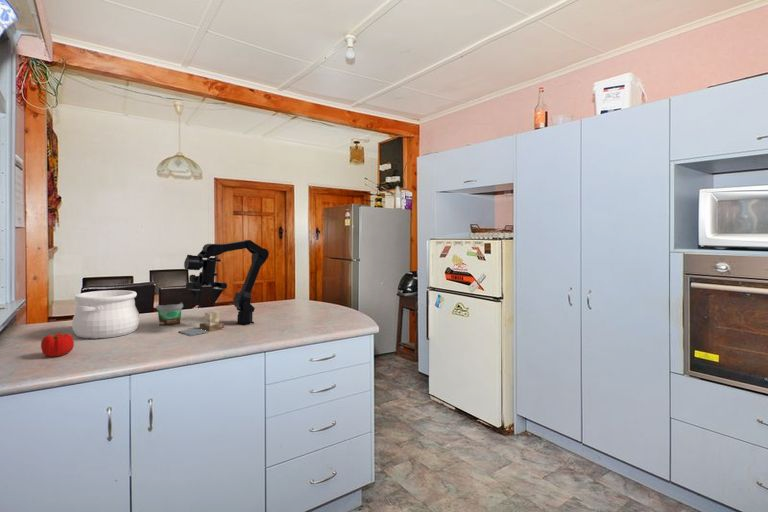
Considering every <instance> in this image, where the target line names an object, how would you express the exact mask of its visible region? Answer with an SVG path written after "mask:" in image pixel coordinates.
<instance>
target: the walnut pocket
mask: <svg viewBox="0 0 768 512" xmlns="http://www.w3.org/2000/svg"><path fill="white" fill-rule="evenodd" d="M198 327H199V328H198V329H202V330H206V331H211V332H214V331H213V330H216V331H218V330H217V329H221V330H223V329H222V328H224V329H225V323H223V322H220V321H219V324H216V325H211V326H209V325H205V322H204V323H199V326H198Z"/></svg>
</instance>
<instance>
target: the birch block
mask: <svg viewBox="0 0 768 512" xmlns="http://www.w3.org/2000/svg"><path fill="white" fill-rule="evenodd" d="M219 322H220V312H219V311H215V310H212V311H205V312H204V323H205V325H209V326H211V325H216V324H219Z"/></svg>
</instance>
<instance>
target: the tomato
mask: <svg viewBox="0 0 768 512" xmlns="http://www.w3.org/2000/svg"><path fill="white" fill-rule="evenodd" d="M74 341H75V340H74V338H73V336H72V335H71V334H69V333H62V332H60V333H56V334H53V335H52V334H48V335H45V336H44V337H43V339H42V341H41V344H40V349H41V351H42V354H43V355H44V356H45V357H49V358H53V357H61V356H64V355H67V354H68V353H70V352H71V351H73V348H74V346H75V342H74Z"/></svg>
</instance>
